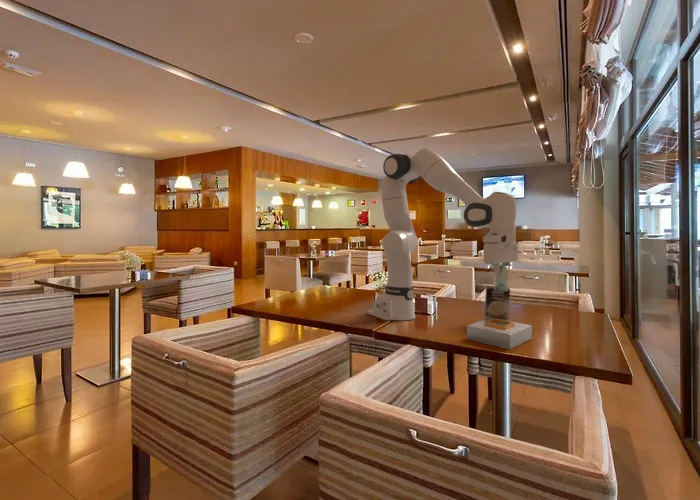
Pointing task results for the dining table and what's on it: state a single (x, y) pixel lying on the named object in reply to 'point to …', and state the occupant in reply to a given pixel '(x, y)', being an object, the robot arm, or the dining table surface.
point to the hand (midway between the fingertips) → (501, 275)
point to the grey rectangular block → (499, 332)
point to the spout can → (502, 279)
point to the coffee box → (496, 303)
